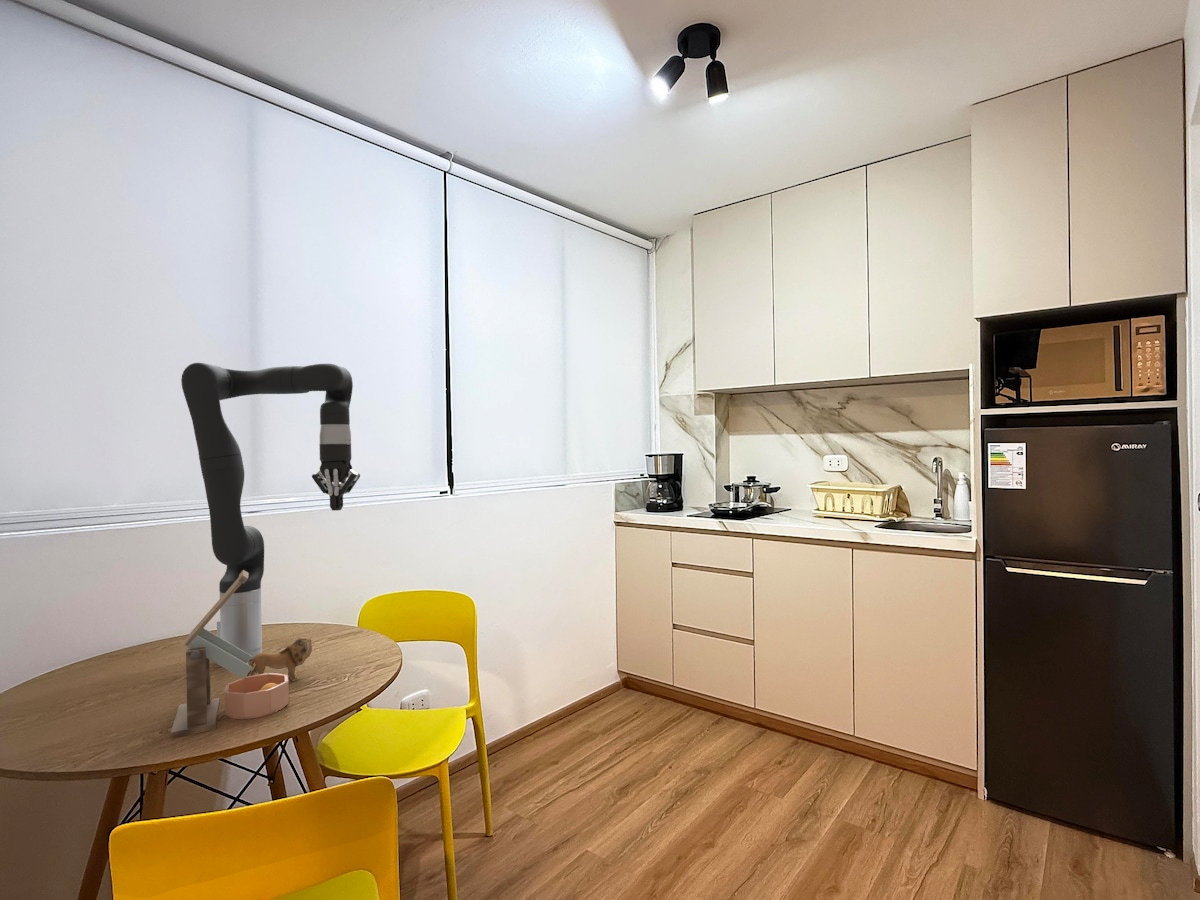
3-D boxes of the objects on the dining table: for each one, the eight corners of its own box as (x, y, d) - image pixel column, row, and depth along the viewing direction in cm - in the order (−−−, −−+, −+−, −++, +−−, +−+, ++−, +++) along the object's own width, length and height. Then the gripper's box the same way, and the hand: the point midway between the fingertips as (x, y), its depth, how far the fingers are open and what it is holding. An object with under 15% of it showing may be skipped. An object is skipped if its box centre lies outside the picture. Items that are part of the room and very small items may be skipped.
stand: (170, 738, 116) (169, 655, 116) (179, 709, 129) (178, 635, 129) (215, 729, 119) (213, 649, 119) (219, 702, 133) (218, 629, 133)
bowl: (224, 724, 122) (223, 698, 122) (226, 703, 132) (226, 679, 132) (289, 711, 127) (289, 686, 127) (287, 693, 137) (287, 669, 137)
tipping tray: (182, 644, 120) (242, 575, 125) (186, 634, 127) (243, 569, 132) (243, 678, 125) (298, 611, 129) (243, 667, 132) (296, 603, 137)
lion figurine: (311, 671, 151) (311, 633, 151) (313, 678, 146) (312, 639, 146) (240, 683, 144) (240, 643, 144) (240, 690, 139) (239, 649, 139)
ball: (287, 696, 132) (269, 710, 130) (279, 682, 134) (261, 696, 132) (278, 690, 129) (260, 704, 127) (270, 676, 131) (251, 689, 129)
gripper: (302, 443, 161) (304, 511, 161) (349, 442, 158) (350, 511, 158) (322, 443, 168) (323, 508, 168) (366, 442, 165) (368, 508, 165)
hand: (336, 510), depth 163 cm, fingers closed
